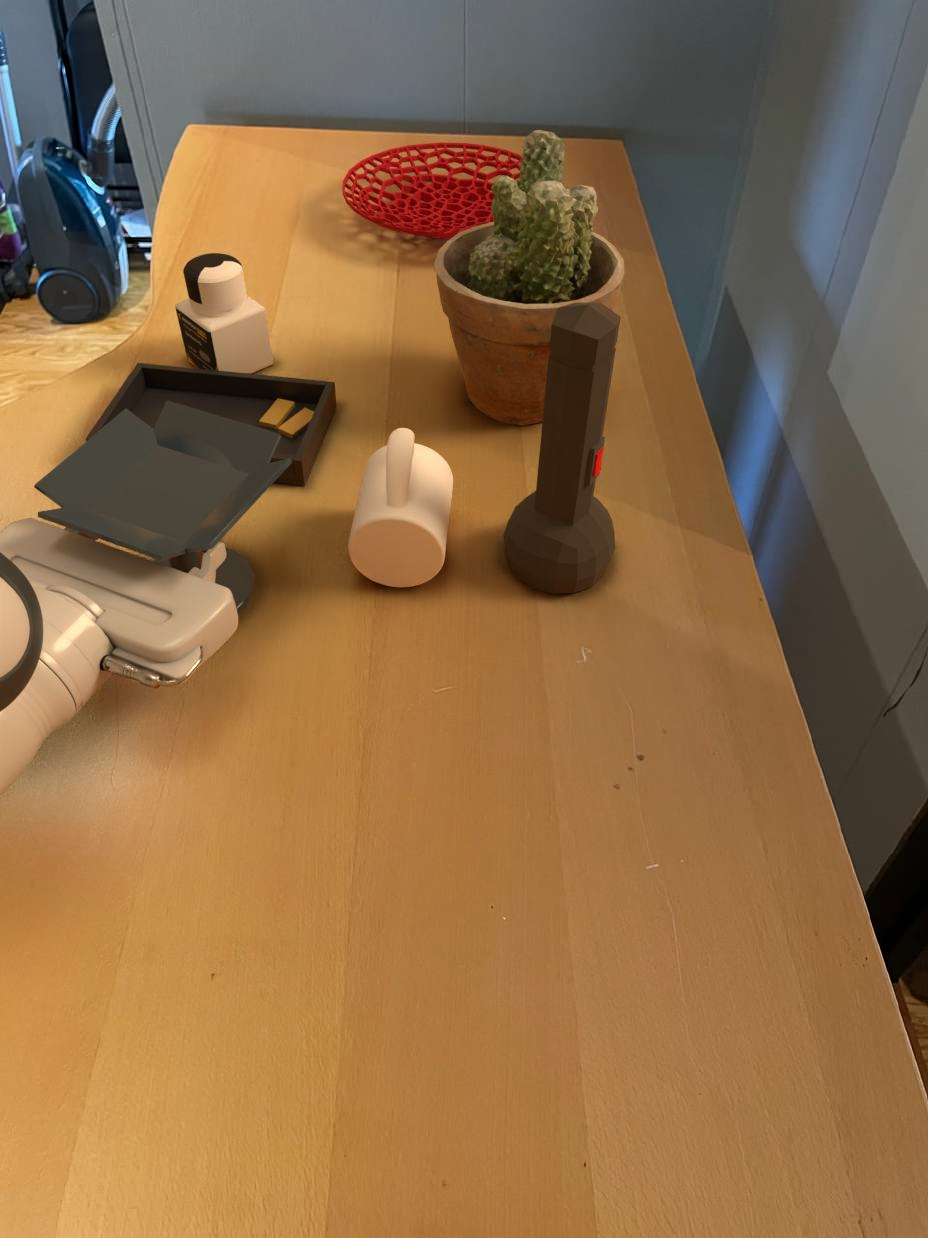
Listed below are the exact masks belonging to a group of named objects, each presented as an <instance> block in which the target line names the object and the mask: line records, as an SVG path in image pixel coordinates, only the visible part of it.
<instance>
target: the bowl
mask: <svg viewBox="0 0 928 1238" xmlns="http://www.w3.org/2000/svg"><path fill="white" fill-rule="evenodd" d="M432 149H433V151H431V152H426V151H423V150H432ZM452 149H462V151H454V150H452ZM469 150H470V151H469ZM471 150H473V151H471ZM474 150H475V151H474ZM412 151H415V152H417V153H418V154H417V155H412V154H411V152H412ZM405 152H406V155H407V156H402V155H400V153H401V154H402V153H405ZM483 152H489V153H492V154H493V153H494V155H485V154H483ZM441 155H448V156H450V157H448V158H446V157H442V156H441ZM501 155H502V156H505V157H507V160H505V161H503V160H500V159H499V157H500V156H501ZM434 157H436V158H437V161H434V162H431V163H428V162H427V161H428V159H430V158H434ZM462 157H463V158H462ZM393 159H397V160H398V161H392V160H393ZM513 159H514V160H513ZM479 160H481V162H480V161H479ZM515 160H517V161H515ZM375 161H376V162H375ZM416 161H418V162H420V163H423V164H420V165H416V163H415V162H416ZM377 162H378V163H381V164H378V163H377ZM519 162H520V163H522V158H521V154H519V153H516V152H513V151H510V150H507V149H505V148H499V147H494V146H489V145H485V144H478V143H477V144H476V143H467V142H441V141H440V142H431V143H430V142H428V143H419V144H417V143H416V144H408V145H403V146H398V147H393V148H390V149H387V150H383V151H381V152H377V153H375V154H372V155H370V156H368V157H366V158H364V159H362V160H359V162H358V163H356V164H355V165H353V166H352V167H351V168H349V170H348V171H347V172H346V175H345V176H344V178H343V180H342V187H341V188H342V189H341V190H342V192H341V193H342V196H343V199H344V201H345V204H346V205H347V206H348V207H349V208H350V209H351V210H352V211H353V212H354V213H356V214H357V215H358V216H360V217H361V218H363V219H365V221H368V222H371V223H373V224H374V225H375V224H376V225H378V226H381V227H382V228H385V229H388V230H391V231H394V232H395V231H396V232H401V233H404V234H408V235H412V236H418V237H425V238H433V239H451V238H453V237H454V236H455V235H457V234H458V233H459V232H462V231H465V230H467V229H470V228H472V227H476V226H479V225H483V224H486V223H490V222H494V219H493V212H492V210H491V205H492V200H493V199H494V194H493V191H492V185H493V184H494V183H495V182H492V181H490V180H492V179H494V178H496V177H499V176H506V175H507V176H509V177H510V178H512V179H514V180H515V181H516V180H517V179H519V176H520V172H517V173H512V172H511V170H514V169H517V170H518V171H520V169H521V168H520V165H519ZM403 163H410V165H409V166H402V164H403ZM453 163H454V164H455V163H456V164H459V165H461V166H457V167H453V166H451V165H450V164H453ZM471 163H472V164H474V165H475V169H473V168H470V167H468V166H465V165H467V164H471ZM366 165H370V166H371V167H373V169H371V168H368V167H367V166H366ZM485 167H489V168H490V167H491V168H494V169H496V170H493V171H491V172H488V173H486V172H482V171H480V170H481V169H483V168H485ZM360 169H362V170H363V173H357V172H358V171H359V170H360ZM434 169H442V170H443V169H444V170H445V171H447V172H448V173H447V174H439V173H437V174H436V173H433V171H432V170H434ZM378 172H382V173H385V174H388V175H389V176H390V178H388V179H386V180H383V179H381V178H379V177H378V176H377V175H376V174H377V173H378ZM422 172H423V173H422ZM425 172H426V173H425ZM413 173H414V174H415V175H412V176H410V175H408V174H413ZM368 174H369V175H372V177H369V176H368ZM459 174H466V175H468V176H471V177H472V178H458V177H455V176H454V175H459ZM395 175H396V176H395ZM359 180H365V181H366V182H367V183H368V184H369V185H368V186H365V187H364V186H363V185H361V184H360V183H359V182H358V181H359ZM349 181H350V182H351V183H352V185H351V184H349V183H348V182H349ZM402 182H406V183H409V184H403V183H402ZM427 183H429V184H427ZM373 184H377V185H379V186H380V188H379V187H376V186H374V185H373ZM394 185H395V186H396V187H397V189H398V190H399V191H395V192H390V191H387V190H385V189H386V188H388V187H391V186H394ZM346 189H347V190H349V192H348V191H346ZM370 193H374V194H376V195H378V197H377V196H376V195H373V194H370ZM383 198H384V199H387V200H389V201H391V202H385V201H384V200H383ZM371 202H373V203H371Z"/></svg>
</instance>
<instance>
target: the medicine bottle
mask: <svg viewBox="0 0 928 1238" xmlns="http://www.w3.org/2000/svg"><path fill="white" fill-rule="evenodd" d="M182 272H183V278H184V282H185V287H186V292H187V295H188V298H186V299H183V300H181V301H178V302H177V303H176V304H175V305H174V308H175V312H176V316H177V321H178V325H179V329H180V334H181V338H182V343H183V346H184V347H183V348H184V352H185V356H186V360H187V361H188V362H189V363H190V364H191V365H192V366H193V367H195V368H197V369H207V370H217V371H228V372H238V373H248V374H255V373H256V372H259V371H261V370H263V369H266V368H269V367H270V366H272V365H273V364H274V357H273V351H272V345H271V339H270V338H271V337H270V331H269V330H270V329H269V324H268V318H267V312H266V308H265V307H264V306H263V305H261V303H259V302H257V301H256V300H254V299H253V298H252V297H250V296H249V295H247V288H246V283H245V277H244V270H243V265H242V263H241V262H240V260H239V259H237V258H236V257H234V256H232V255H230V254H227V253H221V252H219V253H218V252H209V253H204V254H200V255H197V256H195V257H193V258H190V260H188V261H187V262H186V264H185V265H184V267H183V269H182Z"/></svg>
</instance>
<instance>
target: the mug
mask: <svg viewBox="0 0 928 1238" xmlns="http://www.w3.org/2000/svg"><path fill="white" fill-rule="evenodd" d="M453 488H454V475H453V472H452V468H451V467H450V464H449V463H448V462H447V461H446V460H445V458H444V457H443V456H442V455H441V454H439V453H438V452H437V451H435V450H434V449H432V448H430V447H428V446H426V445H423V444H420V443H416V442H415V433H414V431H413V430H412V429H410V428H407V427H398V428H396V429H394V430H393V431H392V432H391V433H390V434H389V436H388V439H387V442H386V445H384V446H382V447H380V448H379V449H377V450H376V451H375V452H373V454H371V455H370V456H369V458H368V459H367V461H366V463H365V466H364V469H363V474H362V477H361V483H360V487H359V492H358V497H357V501H356V506H355V510H354V515H353V519H352V523H351V528H350V533H349V538H348V541H347V542H348V543H347V551H348V556H349V559H350V561H351V563H352V564H353V566H354V567H355V568H356V569H357V571H358V572H359V573H361V575H363V576H364V577H366V578H367V579H369V580H370V581H372V582H375V583H377V584H379V585H383V586H387V587H393V588H410V587H415V586H416V587H417V586H420V585H422V584H425V583H427V582H429V581H430V580H432V579H433V578H435V576H436V575H438V574H439V572H440V571H441V570H442V568H443V565H444V563H445V558H446V551H447V541H448V533H449V525H450V516H451V507H452V499H453V491H454V490H453Z"/></svg>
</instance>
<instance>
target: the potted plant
mask: <svg viewBox="0 0 928 1238" xmlns="http://www.w3.org/2000/svg"><path fill="white" fill-rule="evenodd" d="M565 147H566V144H565V143H564V142H563V140H562V139H561V138H560V137H559V136H558V135H556V133H554V132H553V131H546V130H542V129H535V130H533V131H532V132H530V133H529V134H528V135H527V136H526V137H525V140H524V142H523V146H522V149H523V150H522V153H521V154H520V155H521V158H522V163H520V162H519V165H520V168H521V169H520V170H519V173H520V176H519V178H518V179H516V180H514V179H512V178H510V177H509V176H507V175H506V176H504V175H501V176H498V178H497V179H496V180H495V182H493V183H494V184H493V185H492V191H491V192H493V194H494V199H493V200H492V205H491V210H492V212H493V219H494V222H490V223H486V224H483V225H479V226H476V227H472V228H470V229H467V230H465V231H462V232H459V233H458V234H457V235H455V236H454V237H453V238H449V239H447V241H446V242H445V243H444V244H443V245H442V246H441V247H440V248H439V250H438V251H437V252H436V257H435V261H434V264H433V267H434V271H435V274H436V284H437V289H438V294H439V300H440V305H441V308H442V312H443V313H444V315H445V316H446V317H447V318H448V324H449V330H450V334H451V338H452V341H453V345H454V348H455V349H454V350H455V352H456V356H457V359H458V363H459V366H460V370H461V373H462V377H463V381H464V384H465V387H466V392H467V395H468V399H469V400H470V401H471V403H472V404H473V405H474V406H475V408H476V409H477V410H479V411H480V412H481V413H483V414H484V415H485V416H487V417H488V418H490V419H492V420H493V421H496V422H498V423H503V424H507V425H516V426H519V427H523V426H526V425H533V424H537V423H542V422H543V411H544V400H545V390H546V379H547V368H548V358H549V354H550V352H551V350H549V347H550V336H551V326H552V322H553V320H554V317H555V314H556V312H557V309H558V308H559V307H562V306H565V305H569V304H572V303H602V304H603V305H605V306H606V307H608V308H609V309H610V310H612V311H613V312H614V310H615V307H616V305H617V302H618V298H619V295H620V291H621V287H622V286H621V285H622V281H623V279H624V276H625V274H626V273H625V259H624V258H623V256H622V255H621V253H620V252H619V251H618V249H617V247H616V246H614V244H612V243H611V242H609V240H607V239H606V238H605V237H604V236H602V235H600V234H598V233H596V232H594V224H593V221H594V220H595V218H596V216H597V214H598V211H599V207H598V206H597V205H598V202H597V199H598V195H597V193H596V190H595V188H594V186H590V185H583V184H576V185H573V186H572V187H571V186H570V188H565V186H564V182H562V180H563V173H564V172H563V169H564V162H565V154H566V153H565V152H566V151H565Z"/></svg>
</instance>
